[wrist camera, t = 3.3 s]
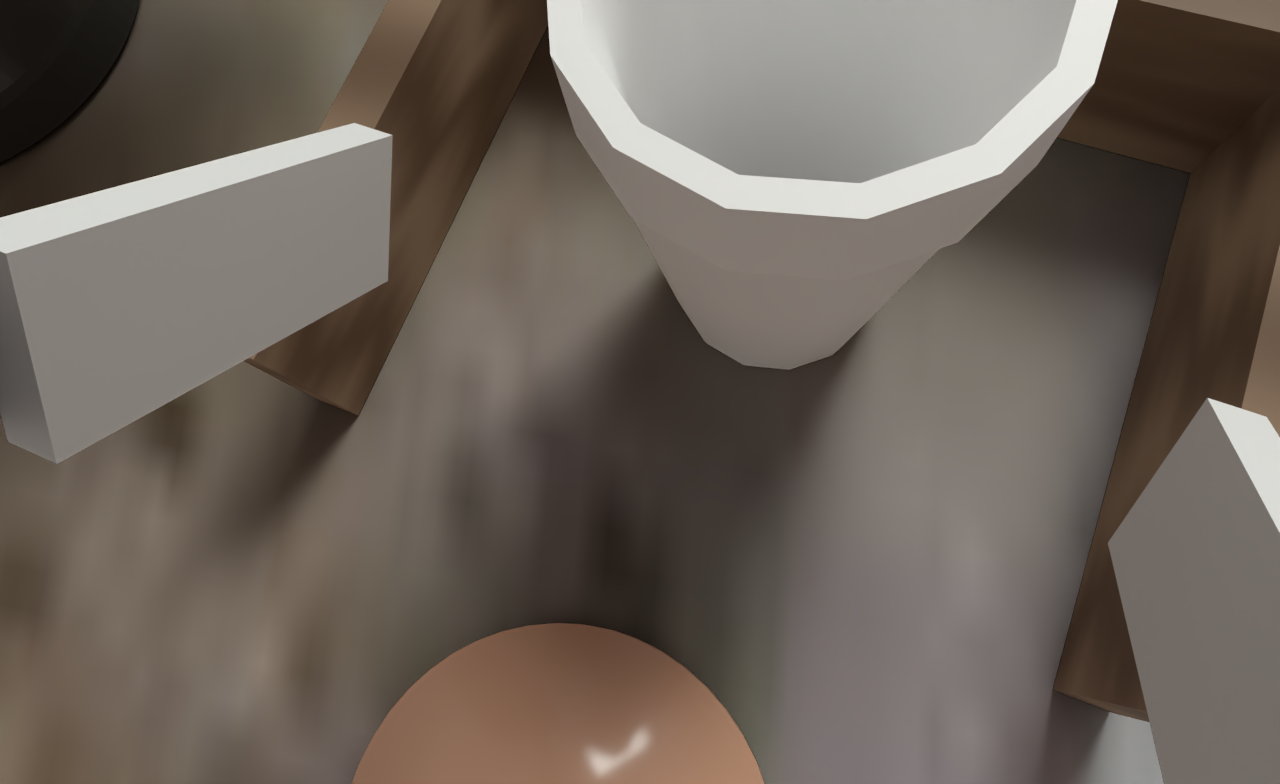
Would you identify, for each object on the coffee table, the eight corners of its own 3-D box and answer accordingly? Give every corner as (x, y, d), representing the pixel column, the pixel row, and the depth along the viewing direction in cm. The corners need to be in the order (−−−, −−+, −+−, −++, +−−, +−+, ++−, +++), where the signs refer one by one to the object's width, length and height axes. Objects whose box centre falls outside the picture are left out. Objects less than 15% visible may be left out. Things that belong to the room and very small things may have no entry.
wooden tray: (536, -37, 30) (491, -191, 24) (1251, 145, 25) (1406, 8, 20) (319, 400, 26) (204, 340, 21) (1110, 711, 22) (1250, 748, 16)
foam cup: (775, 96, 28) (814, -331, 15) (990, 270, 25) (1249, -68, 13) (572, 281, 27) (434, -12, 14) (776, 481, 24) (828, 340, 12)
